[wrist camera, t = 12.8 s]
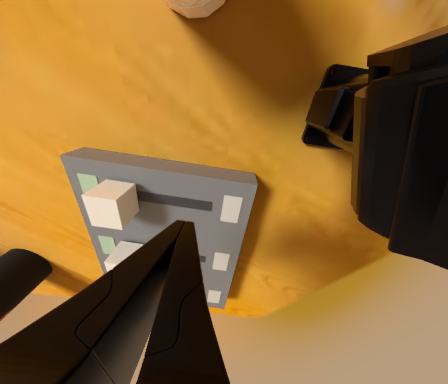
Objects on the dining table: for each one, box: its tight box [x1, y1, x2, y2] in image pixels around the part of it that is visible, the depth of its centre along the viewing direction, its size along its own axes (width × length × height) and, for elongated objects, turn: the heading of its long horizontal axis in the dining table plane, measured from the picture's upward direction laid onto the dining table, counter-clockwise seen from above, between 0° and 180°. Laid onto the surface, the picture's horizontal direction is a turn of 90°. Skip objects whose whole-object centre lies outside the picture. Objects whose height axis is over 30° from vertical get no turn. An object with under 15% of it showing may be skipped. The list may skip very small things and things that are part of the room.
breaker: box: [81, 179, 139, 230], centre depth 17 cm, size 3×4×3 cm
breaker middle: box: [104, 241, 144, 272], centre depth 21 cm, size 3×4×3 cm
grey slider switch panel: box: [60, 147, 258, 309], centre depth 24 cm, size 20×25×3 cm
